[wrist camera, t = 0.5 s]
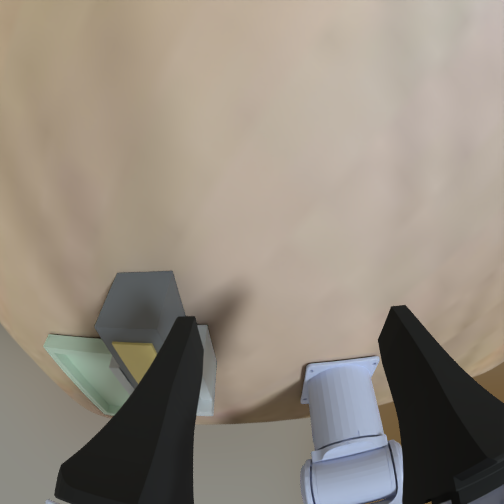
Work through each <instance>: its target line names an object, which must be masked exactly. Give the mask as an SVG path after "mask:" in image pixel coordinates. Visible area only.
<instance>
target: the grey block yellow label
mask: <svg viewBox="0 0 504 504" xmlns="http://www.w3.org/2000/svg"><path fill="white" fill-rule="evenodd" d="M178 316H186V315H185V312H184V309H183V305H182V302H181V299H180V295H179V292H178V288H177V285H176V282H175V278H174V274H173V271H159V272H129V273H117V275H116V277H115V280H114V282H113V284H112V286H111V289H110V291H109V293H108V295H107V298H106V300H105V302H104V305H103V307H102V310H101V312H100V314H99V317H98V319H97V322H96V324H95V329H96V331H97V332H98V334H99V335H100V337H101V339H102V340H103V342H104V343H105V345H106V347H107V348H108V350H109V351H110V353H111V354H112V356H113V357H114V359H115V360H116V362H117V363H118V365H119V366H120V368H121V369H122V371H123V372H124V373H125V375H126V376H127V378H128V379H129V381H130V382H131V383H132V385H133V386H134V387H135V388H136V387H137V385H138V384H139V382H140V381H141V379H142V378H143V376H144V375H145V373H146V372H147V370H148V369H149V367H150V366H151V364H152V362H153V361H154V359H155V357H156V355H157V354H158V352H159V350H160V349H161V347H162V345H163V343H164V341H165V340H166V338H167V336H168V334H169V332H170V330H171V328H172V326H173V324H174V322H175V320H176V318H177V317H178Z"/></svg>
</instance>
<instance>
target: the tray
mask: <svg viewBox="0 0 504 504" xmlns="http://www.w3.org/2000/svg"><path fill="white" fill-rule="evenodd" d="M43 347H44V348H45V349H46V351H47V352H48V353H49V354H50V356H51V357H52V358H53V359H54V361H55V362H56V363H57V364H58V365H59V366H60V368H61V369H62V370H63V371H64V372H65V373H66V375H67V376H68V377H69V378H70V379H71V380H72V381H73V382H74V384H75V385H76V386H77V387H78V388H79V389H80V390H81V391H82V392H83V393H84V394H85V395H86V396H87V397H88V398H89V399H90V400H91V401H92V402H93V404H94V405H95V406H96V407H97V408H99V409H100V410H101V411H102V412H103V413H104V414H106V415H112V416H114V415H115V414H116V413H117V412H118V410H119V409H120V408H121V407H122V406H123V404H124V403H125V402H126V400H127V399H128V398H129V396H130V395H129V394H128V392H127V391H126V390H125V388H124V387H123V386H122V385H121V383H120V382H119V381H118V379H117V378H116V377H115V375H114V374H113V373H112V371H111V370H110V369H109V365H110V361H111V358H112V354H111V353H110V351H109V350H108V348H107V347H106V345H105V343H104V342H103V340H102V339H97V338H84V337H73V336H62V335H53V334H49V335H48V337H47V339H46V342H45V344H44V346H43Z"/></svg>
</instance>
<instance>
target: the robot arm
mask: <svg viewBox="0 0 504 504" xmlns="http://www.w3.org/2000/svg"><path fill="white" fill-rule="evenodd" d="M378 343H379V348H380V354H381V359H382V364H383V367H384V371H385V374H386V377H387V381H388V384H389V387H390V391H391V394H392V397H393V401H394V404H395V408H396V412H397V416H398V420H399V428H400V436H401V445H402V448H401V445H400V444H399V443H398V442H396V441H395V440H390V441H387V437H386V434H384V433H383V428H382V423H381V419H380V414H379V410H378V406H377V401H376V397H375V393H374V389H373V385H372V381H371V377H372V375H373V373H374V371H375V369H376V367H377V364H378V362H379V360H380V359H379V357H378V356H373V357H366V358H358V359H350V360H342V361H333V362H323V363H312V364H308V365H307V366H306V372H305V378H304V384H303V389H302V395H301V400H300V401H301V404H309V409H310V418H311V427H312V436H313V443H314V447H315V451H312V452H311V456H312V459H308V460H306V462H305V464H304V465H303V466H302V468H301V474H300V484H301V493H302V499H303V503H304V504H365V503H369V502H373V501H377V500H380V499H384V500H382V501H379V502H375V503H371V504H425V503H428V502H430V501H432V504H504V403H503V402H501V401H500V400H498V399H497V398H496V397H494V396H493V395H492V394H490V393H489V392H488V391H487V390H485V389H484V388H483V387H482V386H481V385H479V384H478V383H477V382H476V381H475V380H474V379H473V378H472V377H471V376H469V375H468V374H467V373H466V372H465V371H464V370H463V369H462V368H461V367H460V366H459V365H458V364H457V363H456V362H455V361H454V360H453V359H452V358H451V357H450V356H449V354H448V353H447V352H446V351H445V350H444V349H443V348H442V347H441V346H440V345H439V343H438V342H437V341H436V340H435V339H434V338H433V337H432V335H431V334H430V333H429V332H428V331H427V330H426V328H425V327H424V326H423V325H422V324H421V323H420V321H419V320H418V319H417V318H416V317H415V316H414V314H413V313H412V312H411V311H410V310H409V309H408V308H407V306H406V305H401V306H391V309H390V311H389V314H388V316H387V319H386V321H385V324H384V326H383V329H382V331H381V334H380V336H379V339H378ZM203 357H204V348H203V345H202V341H201V337H200V334H199V330H198V326H197V322H196V318H195V316H178V317H177V318H176V320H175V322H174V324H173V326H172V328H171V330H170V332H169V334H168V336H167V338H166V340H165V341H164V343H163V345H162V347H161V349H160V350H159V352H158V354H157V355H156V357H155V359H154V361H153V362H152V364H151V366H150V367H149V369H148V370H147V372H146V373H145V375H144V376H143V378H142V379H141V381H140V382H139V384H138V385H137V387H136V388H135V390H134V391H133V392H132V394H131V395H130V397H129V398H128V399H127V400H126V402H125V403H124V404H123V406H122V407H121V408H120V409H119V410H118V412H117V413H116V414H115V415H114V416H113V417H112V419H111V420H110V421H109V422H108V423H107V424H106V425H105V426H104V427H103V428H102V429H101V430H100V432H98V433H97V434H96V435H95V436H94V437H93V438H92V439H91V440H90V441H89V442H88V443H87V444H86V445H85V446H84V447H83V448H81V449H80V450H79V451H78V452H77V453H76V454H74V455H73V456H72V457H70V458H69V459H68V460H67V461H65V462H64V463H63V464H62V465H61V467H60V470H59V473H58V477H57V483H56V488H55V494H54V495H55V497H56V498H58V499H60V500H63V501H65V502H68V503H71V504H194V498H193V441H194V427H195V420H196V414H197V407H198V401H199V395H200V389H201V382H202V376H203ZM385 498H386V499H385ZM46 504H59V503H57V502H54V501H52V500H49V499H48V500H46Z"/></svg>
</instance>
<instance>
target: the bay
mask: <svg viewBox="0 0 504 504" xmlns="http://www.w3.org/2000/svg"><path fill="white" fill-rule="evenodd" d="M197 326H198V330H199V334H200V337H201V341H202V345H203V348H204V357H203V376H202V382H201V389H200V395H199V401H198V407H197V414H196V416H213V413H214V397H215V382H216V368H217V361H216V357H215V353H214V350H213V346H212V342H211V338H210V334H209V330H208V326H207V325H197ZM109 369H110V370H111V371H112V373H113V374H114V375H115V377H116V378H117V379H118V381H119V382H120V383H121V385H122V386H123V387H124V388H125V390H126V391H127V392H128V394H129V395H131V394H132V392H133V391H134V390H135V387H134V386H133V385H132V383H131V382H130V381H129V379H128V378H127V376H126V375H125V373H124V372H123V371H122V369H121V368H120V366H119V365H118V363H117V362H116V360H115V359H114V357H113V356H112V358H111V361H110V365H109ZM129 397H130V396H129Z"/></svg>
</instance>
